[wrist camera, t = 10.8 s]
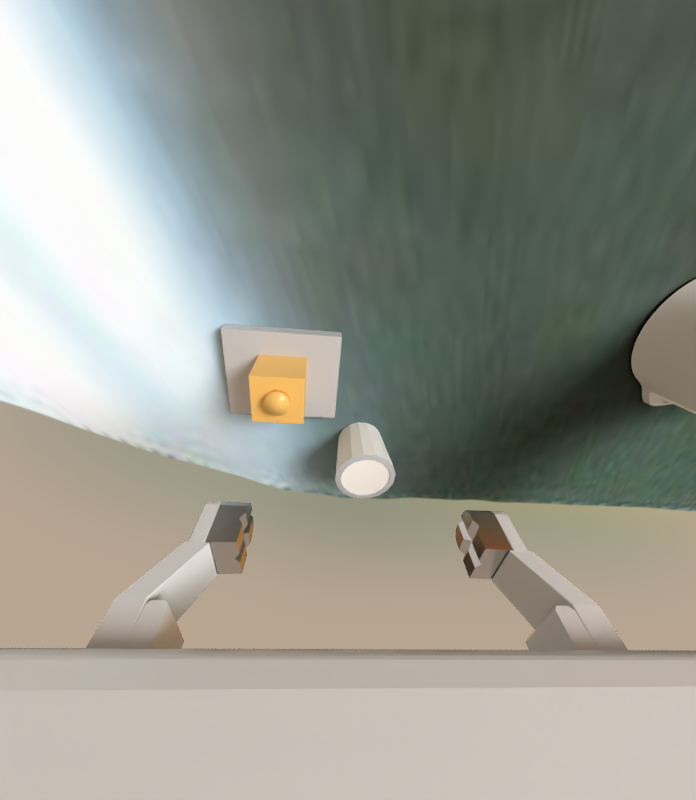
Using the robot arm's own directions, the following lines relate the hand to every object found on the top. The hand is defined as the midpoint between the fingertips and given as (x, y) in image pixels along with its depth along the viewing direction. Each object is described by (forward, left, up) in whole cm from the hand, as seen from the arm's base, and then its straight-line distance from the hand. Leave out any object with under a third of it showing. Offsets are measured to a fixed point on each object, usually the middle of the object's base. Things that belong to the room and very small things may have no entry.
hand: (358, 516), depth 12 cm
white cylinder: (-4, +15, -24) cm, 29 cm away
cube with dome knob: (+5, +6, -22) cm, 24 cm away
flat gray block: (+6, +6, -24) cm, 25 cm away
